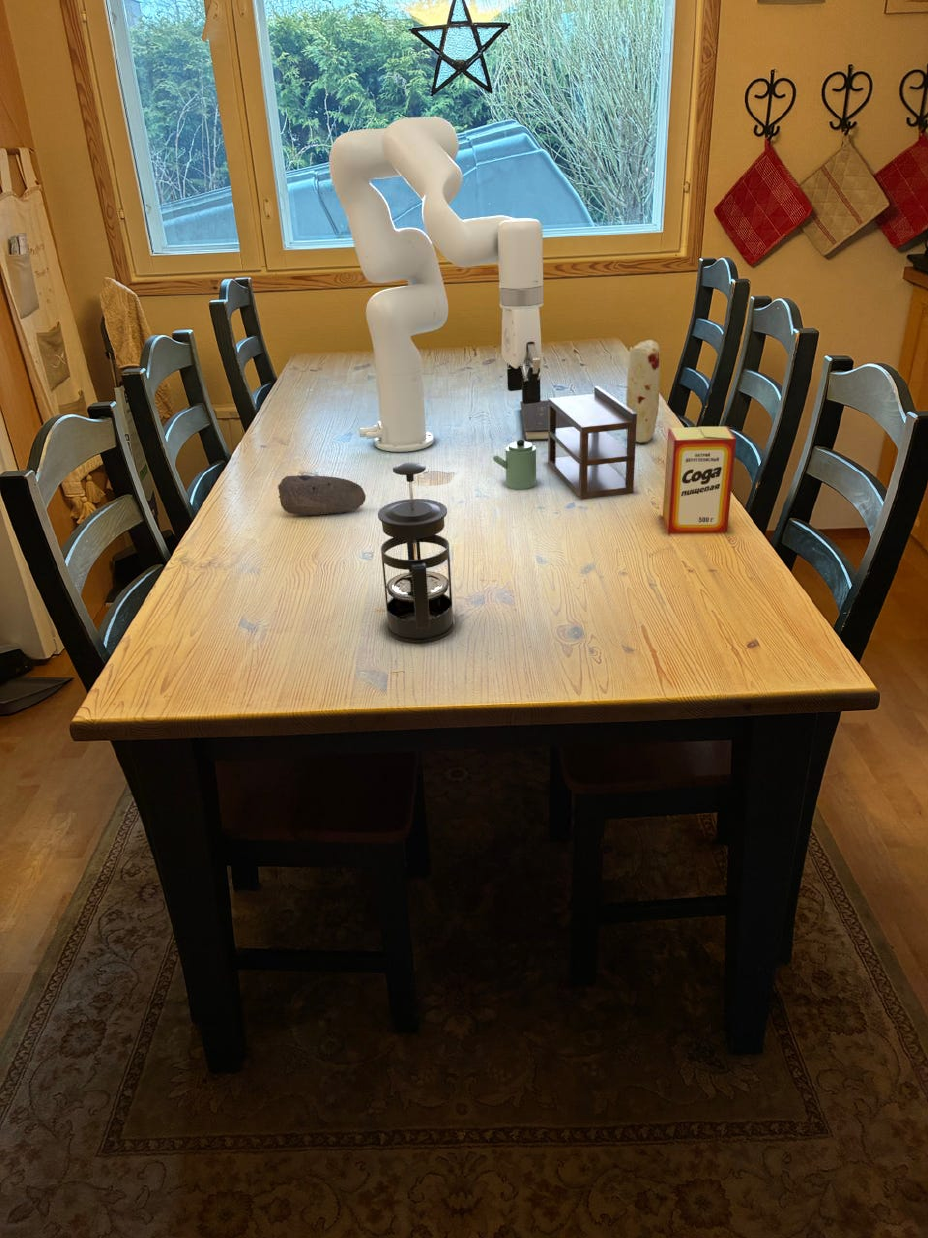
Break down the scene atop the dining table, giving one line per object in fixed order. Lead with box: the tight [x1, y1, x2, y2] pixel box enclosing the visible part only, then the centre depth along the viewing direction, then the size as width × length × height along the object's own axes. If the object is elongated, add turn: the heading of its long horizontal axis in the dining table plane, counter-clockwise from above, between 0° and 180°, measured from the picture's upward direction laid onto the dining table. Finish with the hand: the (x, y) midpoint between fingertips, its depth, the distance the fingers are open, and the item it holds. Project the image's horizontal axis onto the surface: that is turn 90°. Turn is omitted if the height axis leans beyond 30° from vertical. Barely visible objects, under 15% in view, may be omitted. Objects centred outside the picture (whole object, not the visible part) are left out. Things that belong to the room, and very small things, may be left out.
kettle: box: [492, 438, 537, 490], centre depth 174 cm, size 8×6×9 cm
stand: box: [547, 385, 637, 500], centre depth 174 cm, size 10×20×15 cm, turn 12°
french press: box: [377, 462, 456, 644], centre depth 123 cm, size 12×9×23 cm
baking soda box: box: [662, 426, 737, 534], centre depth 152 cm, size 10×6×16 cm
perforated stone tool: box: [277, 474, 367, 516], centre depth 166 cm, size 15×5×7 cm, turn 89°
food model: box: [625, 339, 661, 444], centre depth 192 cm, size 10×7×20 cm
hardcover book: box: [519, 399, 574, 442], centre depth 208 cm, size 16×23×2 cm
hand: (523, 396), depth 169 cm, fingers open, 9 cm apart
